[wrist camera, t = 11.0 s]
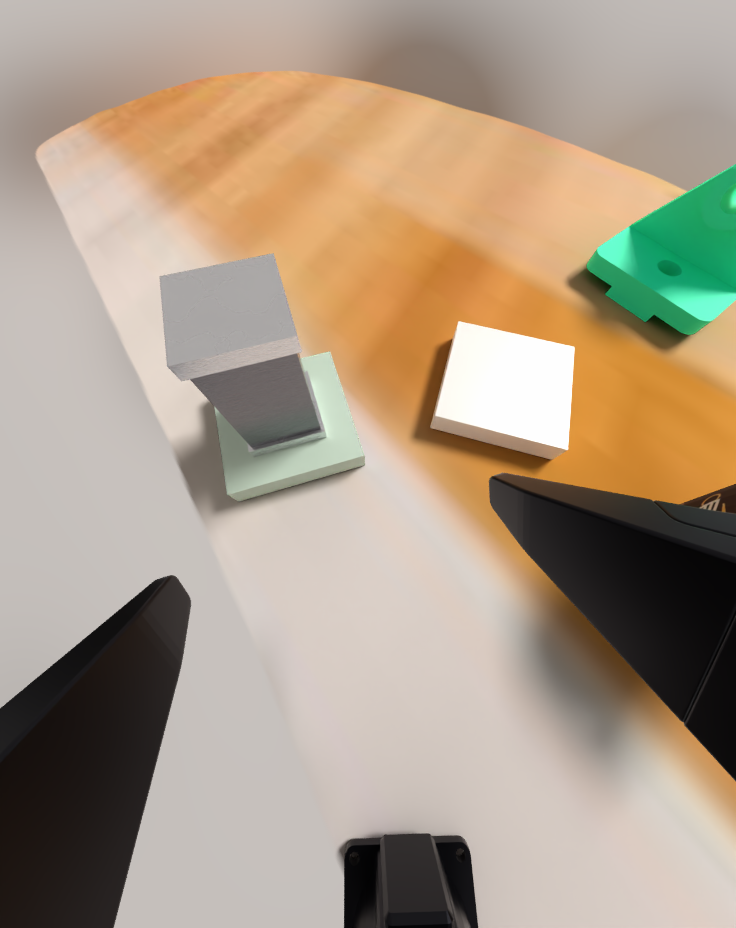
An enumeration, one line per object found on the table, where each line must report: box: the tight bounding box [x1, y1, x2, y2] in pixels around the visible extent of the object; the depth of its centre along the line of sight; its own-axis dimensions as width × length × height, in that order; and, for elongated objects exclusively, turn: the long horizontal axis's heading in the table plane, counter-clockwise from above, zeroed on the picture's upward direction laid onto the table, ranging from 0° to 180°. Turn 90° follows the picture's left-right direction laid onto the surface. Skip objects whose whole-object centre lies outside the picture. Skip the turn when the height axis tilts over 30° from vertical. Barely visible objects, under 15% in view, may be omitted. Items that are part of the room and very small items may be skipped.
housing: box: [160, 253, 327, 457], centre depth 18 cm, size 6×6×10 cm
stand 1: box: [214, 351, 365, 502], centre depth 24 cm, size 10×10×2 cm
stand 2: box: [430, 321, 574, 460], centre depth 25 cm, size 10×10×2 cm
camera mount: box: [586, 164, 736, 335], centre depth 26 cm, size 12×8×10 cm, turn 38°
